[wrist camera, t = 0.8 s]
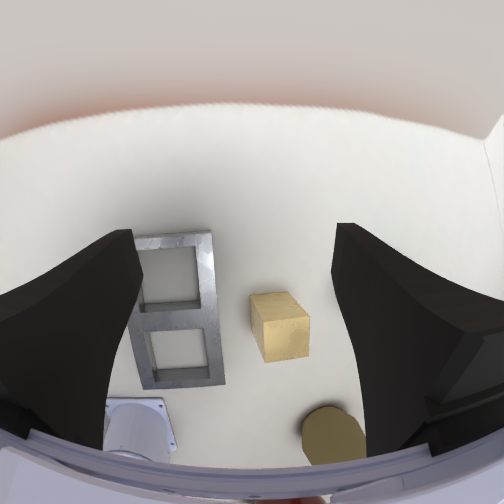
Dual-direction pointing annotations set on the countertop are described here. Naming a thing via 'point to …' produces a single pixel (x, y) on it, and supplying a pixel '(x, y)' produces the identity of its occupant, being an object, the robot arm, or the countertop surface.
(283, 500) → the round-bottom flask
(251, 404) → the countertop surface
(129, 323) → the steel window frame
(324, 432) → the squeeze bottle
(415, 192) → the countertop surface
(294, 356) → the light brown wooden block
